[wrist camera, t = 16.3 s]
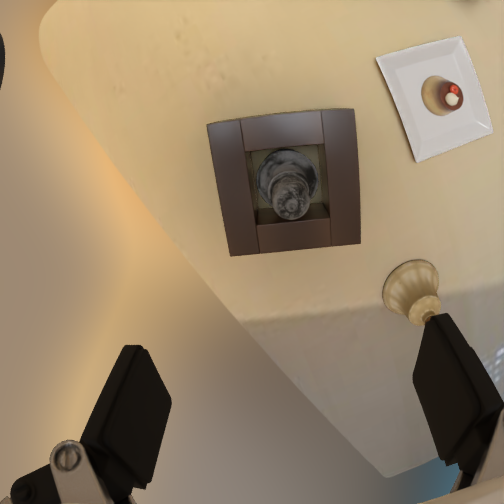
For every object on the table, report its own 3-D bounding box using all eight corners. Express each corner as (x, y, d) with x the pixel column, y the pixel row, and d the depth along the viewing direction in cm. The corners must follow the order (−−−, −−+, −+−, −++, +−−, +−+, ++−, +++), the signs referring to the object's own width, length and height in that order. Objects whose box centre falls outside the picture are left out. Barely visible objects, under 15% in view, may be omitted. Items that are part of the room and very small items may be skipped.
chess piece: (246, 173, 33) (232, 209, 22) (285, 134, 31) (293, 149, 20) (285, 210, 34) (291, 262, 24) (325, 173, 32) (351, 210, 22)
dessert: (456, 36, 23) (478, 31, 19) (488, 131, 28) (512, 137, 23) (372, 58, 26) (387, 52, 22) (412, 161, 31) (431, 170, 26)
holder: (235, 236, 36) (230, 256, 32) (215, 121, 31) (206, 124, 26) (350, 225, 35) (360, 243, 30) (342, 108, 29) (354, 108, 25)
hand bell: (422, 316, 40) (465, 401, 25) (372, 308, 39) (407, 403, 25) (447, 266, 36) (509, 344, 22) (396, 253, 36) (453, 340, 21)
